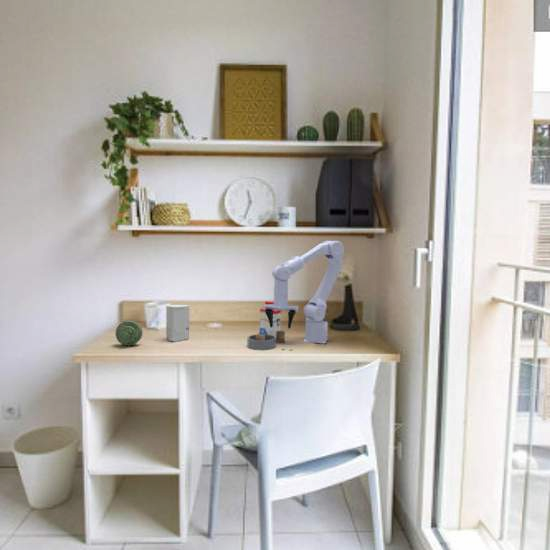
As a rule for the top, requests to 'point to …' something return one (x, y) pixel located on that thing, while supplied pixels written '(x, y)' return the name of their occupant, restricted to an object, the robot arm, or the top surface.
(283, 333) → the loose walnut peg
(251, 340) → the charcoal cup
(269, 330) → the ink box
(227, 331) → the top surface
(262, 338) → the walnut peg in cup
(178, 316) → the skincare box
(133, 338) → the decorative artifact
